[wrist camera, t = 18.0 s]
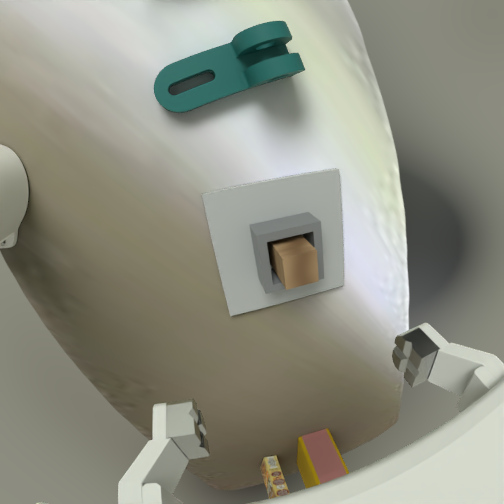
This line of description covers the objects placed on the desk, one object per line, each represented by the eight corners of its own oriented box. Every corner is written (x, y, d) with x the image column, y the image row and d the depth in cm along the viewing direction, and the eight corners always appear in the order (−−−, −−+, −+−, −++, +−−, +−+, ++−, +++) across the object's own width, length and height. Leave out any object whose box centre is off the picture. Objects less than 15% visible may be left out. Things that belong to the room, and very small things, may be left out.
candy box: (263, 456, 72) (276, 498, 58) (277, 454, 73) (290, 495, 59) (259, 468, 75) (271, 506, 62) (272, 466, 76) (284, 504, 63)
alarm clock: (322, 456, 81) (348, 516, 57) (296, 463, 79) (320, 526, 56) (328, 427, 72) (363, 500, 48) (298, 436, 70) (329, 513, 47)
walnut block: (270, 263, 45) (286, 289, 38) (266, 235, 43) (282, 258, 36) (298, 256, 45) (318, 281, 38) (295, 229, 44) (316, 250, 36)
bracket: (274, 34, 32) (293, 17, 25) (291, 76, 35) (313, 66, 28) (148, 77, 32) (139, 65, 25) (166, 120, 35) (161, 118, 28)
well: (229, 312, 48) (234, 333, 43) (201, 193, 40) (203, 203, 35) (341, 282, 51) (356, 298, 46) (335, 168, 42) (354, 174, 37)
